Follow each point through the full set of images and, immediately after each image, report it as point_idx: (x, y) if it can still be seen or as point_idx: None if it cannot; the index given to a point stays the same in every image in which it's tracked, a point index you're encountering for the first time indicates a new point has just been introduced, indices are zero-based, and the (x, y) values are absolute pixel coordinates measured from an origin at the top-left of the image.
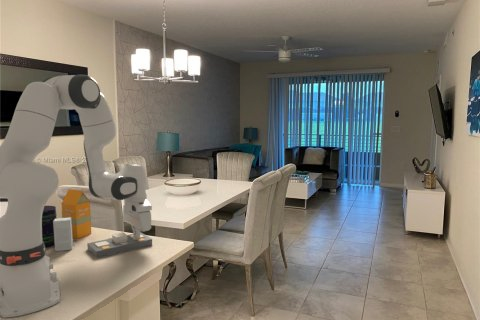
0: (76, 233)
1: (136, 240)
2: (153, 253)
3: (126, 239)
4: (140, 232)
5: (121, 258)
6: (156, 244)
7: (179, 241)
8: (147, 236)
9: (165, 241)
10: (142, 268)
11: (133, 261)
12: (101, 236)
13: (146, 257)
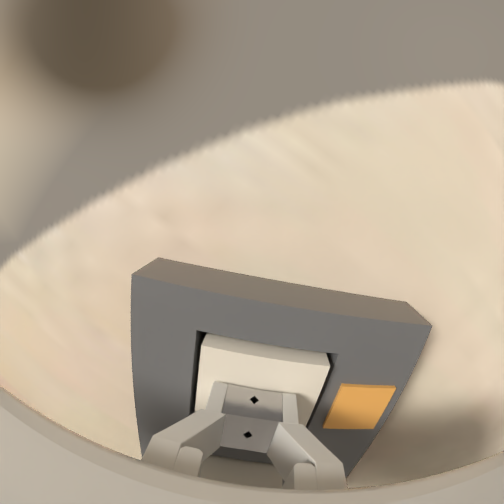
0: None
1: (332, 431)
2: (487, 367)
3: (280, 481)
4: (136, 281)
5: (383, 481)
6: (423, 267)
7: (484, 100)
8: (334, 317)
9: (425, 160)
10: (499, 440)
11: (448, 455)
12: (19, 379)
13: (478, 410)
